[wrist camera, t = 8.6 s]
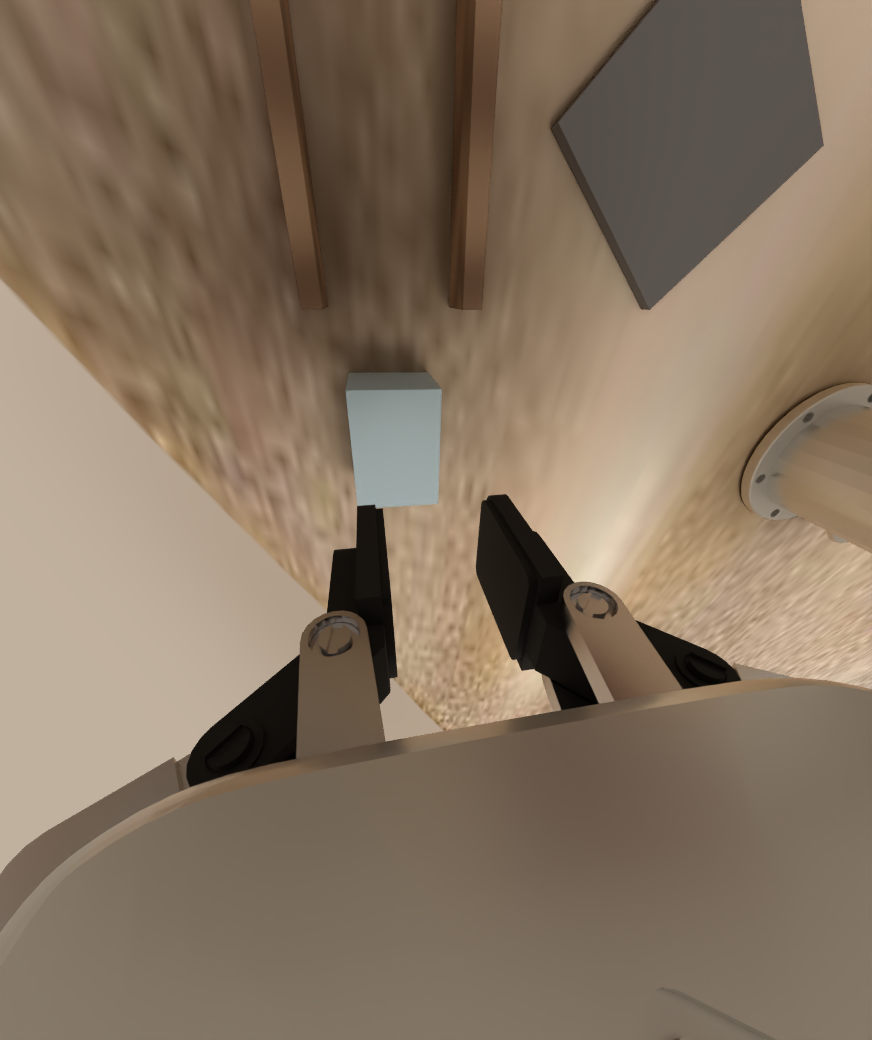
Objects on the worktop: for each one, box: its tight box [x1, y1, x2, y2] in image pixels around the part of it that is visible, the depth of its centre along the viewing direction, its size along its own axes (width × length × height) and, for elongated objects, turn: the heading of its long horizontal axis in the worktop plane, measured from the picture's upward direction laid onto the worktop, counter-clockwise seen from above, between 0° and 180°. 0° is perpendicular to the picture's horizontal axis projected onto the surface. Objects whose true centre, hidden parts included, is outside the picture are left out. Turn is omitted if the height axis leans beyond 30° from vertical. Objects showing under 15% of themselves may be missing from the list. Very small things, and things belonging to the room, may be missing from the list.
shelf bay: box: [249, 0, 502, 310], centre depth 15 cm, size 15×9×4 cm, turn 179°
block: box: [345, 372, 442, 508], centre depth 23 cm, size 7×5×5 cm
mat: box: [551, 0, 823, 310], centre depth 19 cm, size 11×11×1 cm
